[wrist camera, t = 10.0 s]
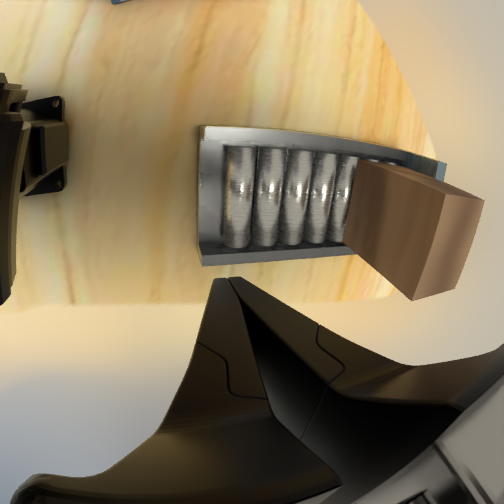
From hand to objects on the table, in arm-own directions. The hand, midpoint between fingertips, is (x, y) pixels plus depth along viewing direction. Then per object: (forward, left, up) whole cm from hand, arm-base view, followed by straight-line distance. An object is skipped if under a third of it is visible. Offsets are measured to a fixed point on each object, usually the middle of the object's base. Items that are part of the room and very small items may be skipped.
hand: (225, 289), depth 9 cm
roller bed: (+9, 0, -12) cm, 15 cm away
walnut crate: (+14, 0, -9) cm, 16 cm away
